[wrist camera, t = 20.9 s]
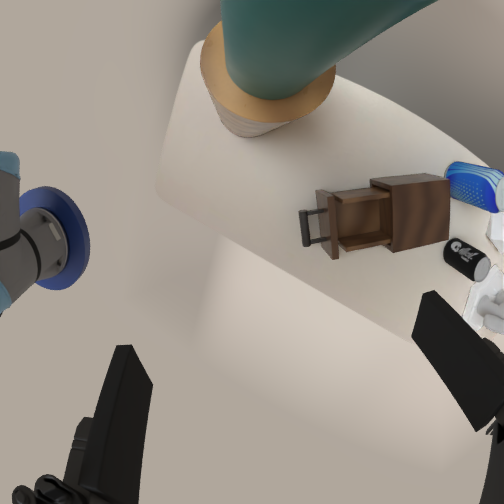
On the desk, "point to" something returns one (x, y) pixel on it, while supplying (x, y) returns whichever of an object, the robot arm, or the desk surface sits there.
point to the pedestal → (247, 106)
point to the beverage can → (467, 260)
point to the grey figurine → (487, 303)
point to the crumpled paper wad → (496, 230)
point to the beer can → (477, 186)
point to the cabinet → (417, 209)
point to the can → (299, 38)
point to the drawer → (350, 220)
